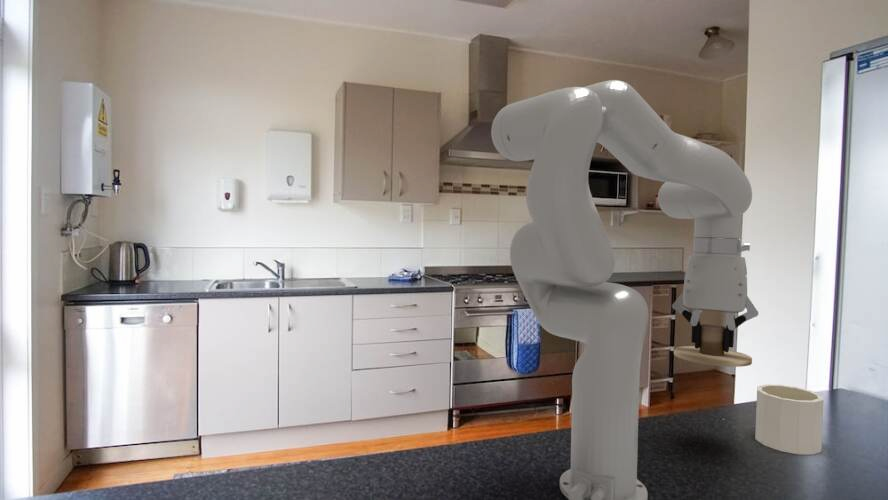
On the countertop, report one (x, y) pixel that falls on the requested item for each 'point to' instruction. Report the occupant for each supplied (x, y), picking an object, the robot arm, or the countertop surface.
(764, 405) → the pot
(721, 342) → the lid
